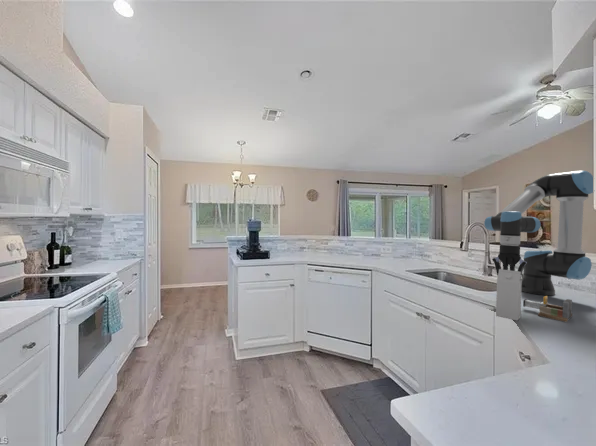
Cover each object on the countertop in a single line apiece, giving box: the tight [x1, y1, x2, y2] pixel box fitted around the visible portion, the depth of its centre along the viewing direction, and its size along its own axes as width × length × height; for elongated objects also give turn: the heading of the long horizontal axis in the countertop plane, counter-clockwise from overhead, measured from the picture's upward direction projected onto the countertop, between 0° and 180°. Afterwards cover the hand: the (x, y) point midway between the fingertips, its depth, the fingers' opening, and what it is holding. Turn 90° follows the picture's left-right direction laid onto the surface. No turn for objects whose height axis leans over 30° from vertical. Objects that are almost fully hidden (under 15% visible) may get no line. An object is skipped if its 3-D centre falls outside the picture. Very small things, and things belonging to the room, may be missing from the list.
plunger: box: [522, 295, 549, 311], centre depth 120 cm, size 4×8×6 cm, turn 37°
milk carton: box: [495, 268, 522, 321], centre depth 113 cm, size 7×7×19 cm
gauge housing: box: [537, 298, 573, 323], centre depth 115 cm, size 12×8×7 cm
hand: (507, 295), depth 127 cm, fingers closed
